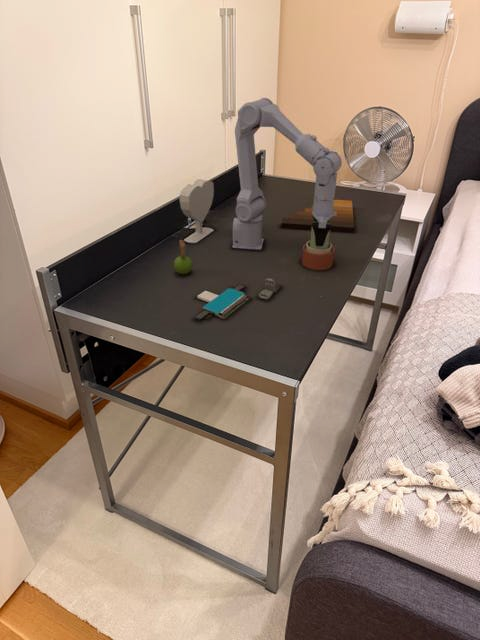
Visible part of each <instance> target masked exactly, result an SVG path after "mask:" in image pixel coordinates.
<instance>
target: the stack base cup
mask: <svg viewBox="0 0 480 640" xmlns="http://www.w3.org/2000/svg"><path fill="white" fill-rule="evenodd" d="M335 249H336V248H335V246H333V245H332V250H331V253H329V254H313V253H310V252H308V251H306V243H304V244H303V246H302V253H301V255H302V256H301V264H302V266H304V267H305V268H307V269H309V270H314V271H326V270H328V269H330V268H332V267H333V265H334V258H335V251H336V250H335Z"/></svg>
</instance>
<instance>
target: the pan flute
mask: <svg viewBox="0 0 480 640" xmlns="http://www.w3.org/2000/svg"><path fill="white" fill-rule="evenodd" d="M353 209H354V208H353V200H347V199H334V205H333V211H334V212H337V215H336V216H332V217H331V218H330V220H329V221H328V223H330V224H331V225H332V228H331V229H330V232H338V233H354V230H355V218H354V210H353ZM312 211H313V204H312V205H311V207H304V210H303V211H301V210H298V211H297V214H291V213H290V214H289V217H282V218H281V229H294V230H308V231H309V230H310V231H311V228H312V222H314V219H313V216H312Z"/></svg>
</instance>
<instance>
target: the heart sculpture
mask: <svg viewBox="0 0 480 640" xmlns="http://www.w3.org/2000/svg"><path fill="white" fill-rule="evenodd" d="M214 185H215V184H214V182H213V181H212V180H206V179H196V180H195V181H194V182H193V183H192V184H189V183H188V184H187V185H185V186H184V187H183V188H182V189H181V191H180V193H179V205H180V209H181V211H182V213H183V215H184V216H186V217H187V218H189V219H192V220H193V221H194V227H195V231H194V232H193V233H192V234H190V235H189V236H187V237H186V238H184V239H183V241H184V240H185V242H186V243H190V244H196V243H198V242H199V241H201V240H202V239H204V238H206V237H207V236H208V235H210V234H211V233H212V232H214V231H215V229H213V228H211V227H203V222H204V221H205V219H206V217H207V215H208V213H209V211H210V209H211V207H212V203H213V200H214V194H215V188H214Z"/></svg>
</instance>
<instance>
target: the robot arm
mask: <svg viewBox="0 0 480 640" xmlns="http://www.w3.org/2000/svg"><path fill="white" fill-rule="evenodd" d="M263 127H264V128H274V129H275V130H276V131H277V132H279V133H280V134H281V135H282V136H284V137H285V138H286V139H288V140H289V141H290V142H291V143H292V144H293V145H294V149H295V152H296V153H297V154H298V155H299V156H300V157H302V158H303V159H304V160H305V161H306V162H307V163H308V164H309V165H311V167H312V168H313V173H314V174H315V182H314V183H315V185H314V195H313V204H312V205H313V211H312V216H313V219H314V222H312V228H313V230H314V233H315V243H316V246H323V245H324V242H325V239H326V236H327V234H328V232H329V231H330V229H331V228H332V225H330V224H326V223H327V222H328V221H329V220H330V218H331V217H332V216H336V215H337V212H334V211H333V205H334V200H335V196H336V188H337V179H338V171H340V169H341V168H342V163H343V162H342V158H341V156H340V155H339V154H338V152H337V151H334V150H330V149H329V148H328V147H325V145H323V144H322V143H321V142H319V140H317V139H318V137H317V136H316V135H315V134H313V135H312V134H310V133H306V134H304V133H303V132H302V131H301V130H300V129H299V128H298V127H297V126H296V125H295V124H294V123H293V122H292V121H291V120H290V119H289V118H288V117H287V116H286V115H285V114H284V113H283V112H282V111H281V110H280V108H279V106H278V105H277V104H275V103H274V101H272V100H271V99H270V98H267V97H262V98H260V99H257V100H253V101H251V102H250V101H249V102H246V103H244V104H243V105H241V107H240V108H239V109H238V110H237V120H236V124H235V126H234V135H235V137H234V138H235V147H236V157H237V165H238V176H239V184H240V190H239V192H238V195H237V197H236V206H235V209H234V210H235V211H234V212H235V215H236V217H234V218H233V222H232V249H240V250H254V251H255V250H256V251H257V250H258V251H261V250H262V248H263V244H264V240H265V239H264V238H262V237H263V235H262V234H263V217H264V216H263V214H264V213H265V212H266V209H267V206H268V205H267V201H266V199H265V197H264V192H263V190H262V189H260V187H259V179H258V178H259V177H258V167H257V155H256V144H255V143H256V142H255V134H256V133H257V132H258V130H260V128H263ZM315 221H318V222H319V223H316V222H315ZM330 232H331V231H330Z"/></svg>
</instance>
